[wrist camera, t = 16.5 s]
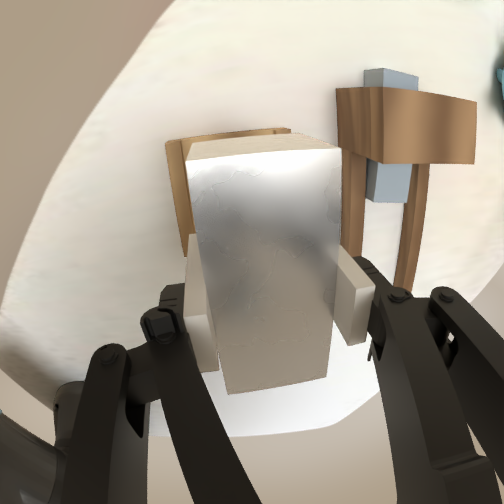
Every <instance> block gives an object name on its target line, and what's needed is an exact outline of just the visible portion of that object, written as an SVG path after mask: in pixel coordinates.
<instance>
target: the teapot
mask: <svg viewBox="0 0 504 504" xmlns="http://www.w3.org/2000/svg"><path fill="white" fill-rule="evenodd" d="M496 75H497V79H498V80H499V82H501V83H502V92H503V98H504V68H503V70H502V69H500V68H498V69H497V72H496Z"/></svg>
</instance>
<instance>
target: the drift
mask: <svg viewBox="0 0 504 504" xmlns="http://www.w3.org/2000/svg"><path fill="white" fill-rule="evenodd" d="M364 87H391V88H400V89H408V90H415V91H418V77H417V76H413V75H410V74H406V73H402V72H398V71H394V70H390V69H386V68H380V69H371V70H364ZM411 171H412V164H381V163H379V162H377V161H374V160H372V159H369V158H367V157H366V191H365V197H366V198H368V199H369V200H371V201H372V202H387V203H407V198H408V192H409V185H410V178H411Z"/></svg>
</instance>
